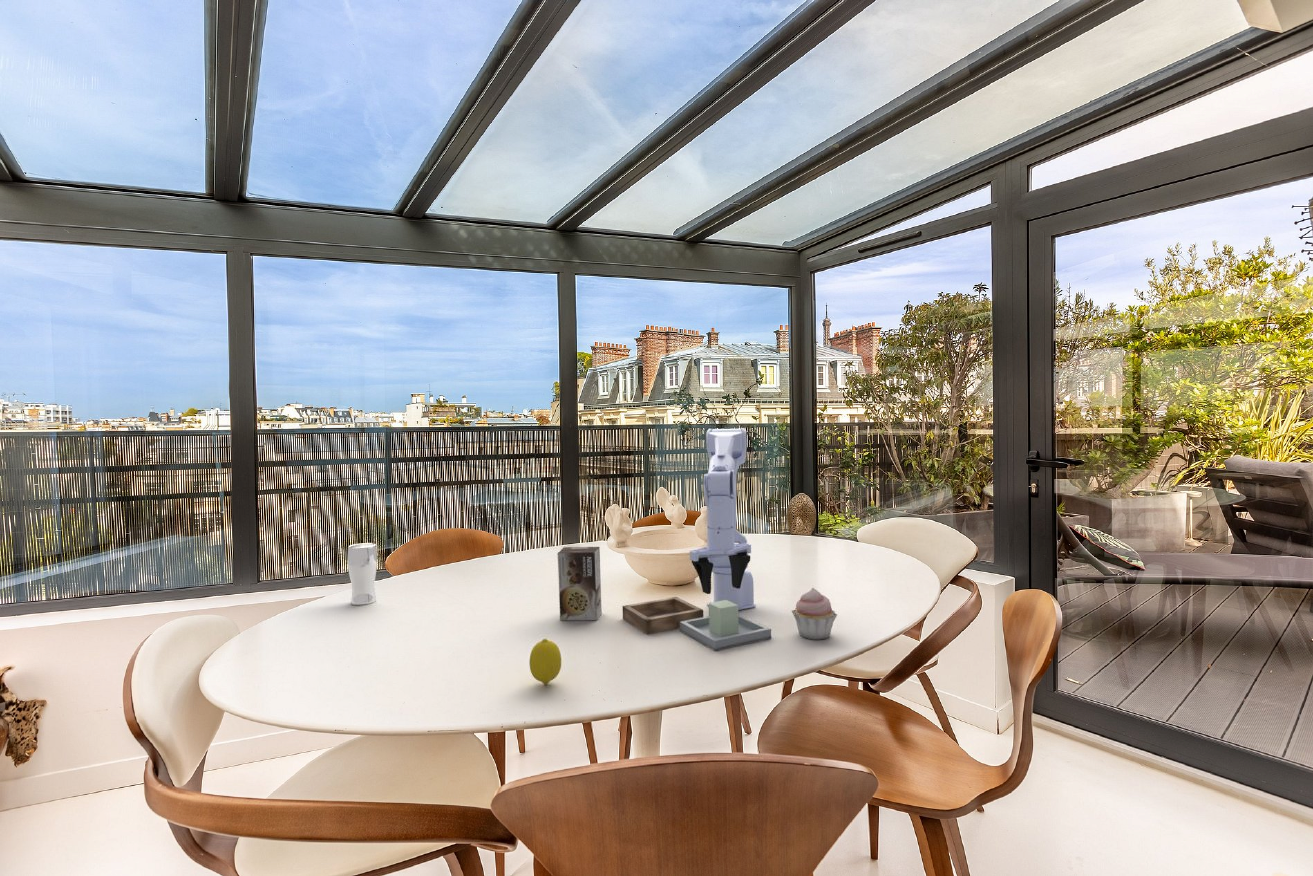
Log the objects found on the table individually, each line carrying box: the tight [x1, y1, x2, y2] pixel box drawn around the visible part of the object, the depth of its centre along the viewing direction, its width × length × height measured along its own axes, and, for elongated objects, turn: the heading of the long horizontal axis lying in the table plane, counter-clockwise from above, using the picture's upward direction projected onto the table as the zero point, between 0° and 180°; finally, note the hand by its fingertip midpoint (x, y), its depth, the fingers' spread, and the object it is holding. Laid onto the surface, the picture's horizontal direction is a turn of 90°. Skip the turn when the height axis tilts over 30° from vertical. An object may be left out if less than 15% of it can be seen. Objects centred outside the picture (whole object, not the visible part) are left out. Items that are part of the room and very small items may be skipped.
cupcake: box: [791, 587, 838, 640], centre depth 130 cm, size 9×9×10 cm
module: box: [708, 600, 739, 637], centre depth 132 cm, size 4×4×6 cm
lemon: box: [528, 638, 562, 685], centre depth 108 cm, size 6×6×8 cm
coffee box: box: [556, 546, 603, 621], centre depth 146 cm, size 9×6×16 cm
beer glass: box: [347, 542, 378, 606], centre depth 162 cm, size 7×7×15 cm
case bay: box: [622, 596, 704, 635], centre depth 142 cm, size 14×12×3 cm
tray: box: [679, 613, 772, 652], centre depth 132 cm, size 14×14×2 cm
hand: (721, 590), depth 132 cm, fingers open, 7 cm apart
